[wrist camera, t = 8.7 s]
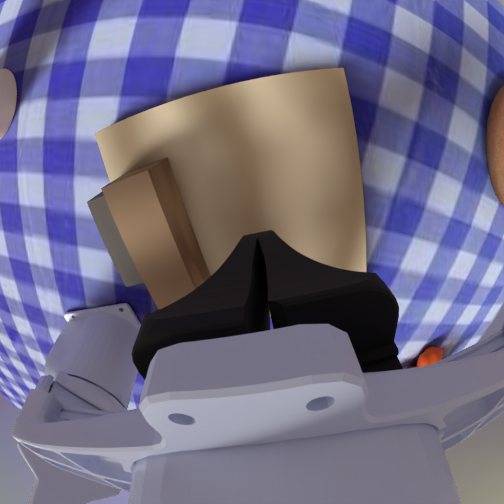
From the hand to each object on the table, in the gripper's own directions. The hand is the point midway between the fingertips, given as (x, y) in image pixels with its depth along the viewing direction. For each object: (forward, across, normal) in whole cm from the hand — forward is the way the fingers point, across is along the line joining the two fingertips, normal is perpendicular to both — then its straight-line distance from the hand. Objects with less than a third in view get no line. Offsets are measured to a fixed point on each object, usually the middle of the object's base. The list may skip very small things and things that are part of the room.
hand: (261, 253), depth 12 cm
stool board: (+9, +1, +1) cm, 10 cm away
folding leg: (+7, +6, +3) cm, 10 cm away
